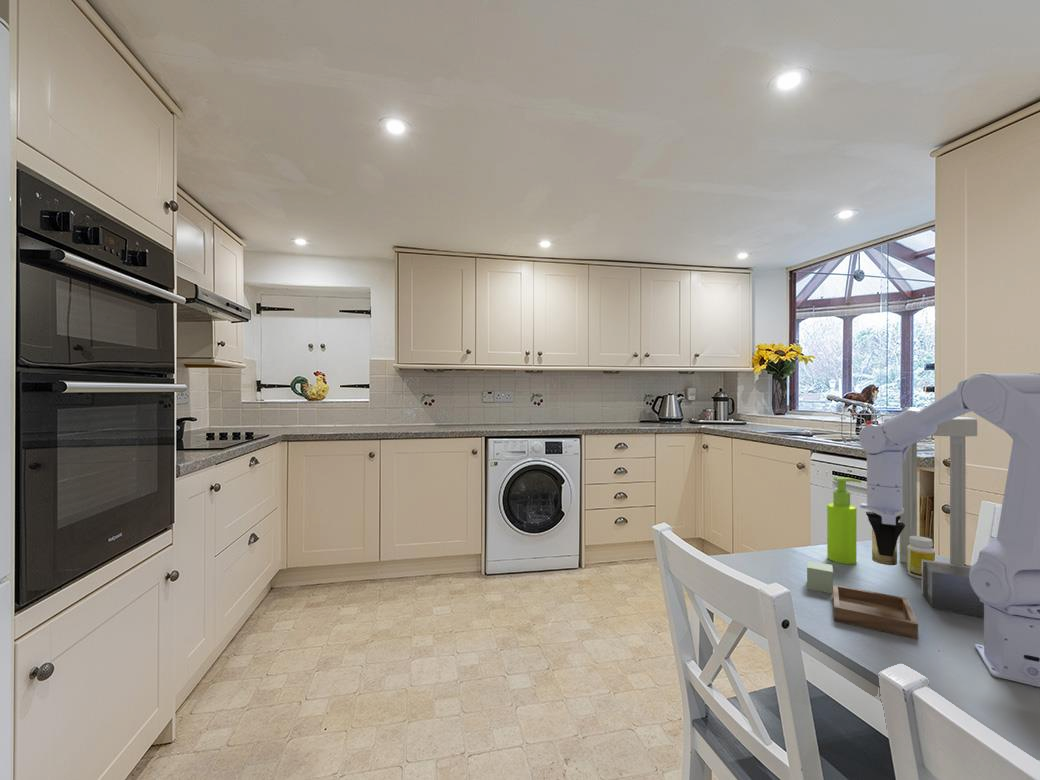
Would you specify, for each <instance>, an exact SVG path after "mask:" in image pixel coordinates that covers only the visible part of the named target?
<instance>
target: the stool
mask: <svg viewBox="0 0 1040 780" xmlns="http://www.w3.org/2000/svg"><path fill="white" fill-rule="evenodd" d="M895 416H896V415H893V416H891V418H893V417H895ZM891 418H890V419H891ZM931 436H932V437H933V436H935V437H949V499H950V500H949V558H950V559H949V564H956V565H963V566H965V564H966V559H967V558H966V553H967V552H966V549H967V548H966V545H967V543H966V541H967V540H966V533H967V531H966V528H967V527H966V520H967V519H966V518H967V517H966V515H967V514H966V512H967V511H966V509H967V507H966V505H967V504H966V495H967V493H966V483H967V482H966V479H967V478H966V472H967V471H966V468H967V467H966V465H967V464H966V463H967V462H966V458H967V457H966V438H967V437H977V436H978V419H977V418H975V417H969V416H968V417H966V416H958V417H956V418H953V419H951V420H948V421H946V422H943V423H941V424H938V425H937V430H936V432H935V433H934V434H933V435H931ZM931 436H930V437H931ZM917 447H918V442H915V443H913V444H911V446H910V448H909V450H908V451H907V453H906V460H905V461H904V462H903V508H904V513H903V514H901V515H900V516H901V518H900V520H899V522H900V523H904V524H905V527H904V529H903V530H902V531H901V533H900V535H899V562H900V563H905V564H907V546H908V545H909V544H910V543H909V537H910V536H918V533H917V532H918V521H917V520H918V514H917V513H918V506H917V505H918V500H917V499H918V495H917V494H918V491H917V490H918V475H917V473H918V463H917V462H918V459H917V457H918V453H917V452H918V448H917Z"/></svg>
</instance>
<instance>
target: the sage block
mask: <svg viewBox="0 0 1040 780" xmlns="http://www.w3.org/2000/svg"><path fill="white" fill-rule="evenodd" d="M806 565H807V567H806V580H807V581H806V589H807V590H812V591H817V592H824V593H829V594H833V585H834V568H833V564H829V563H823V562H816V561H810V560H807V564H806Z"/></svg>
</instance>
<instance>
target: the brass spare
mask: <svg viewBox="0 0 1040 780" xmlns="http://www.w3.org/2000/svg"><path fill="white" fill-rule="evenodd" d="M871 560H872V561H873V562H874V563H877V564H880V565H885V566H897V565H898V542H897V543H896V547H895V551H894V554H893V557H890V556H884V555H880V554H879V552H878V548H877V543H876V537H875V533H874V530H873V529H871Z"/></svg>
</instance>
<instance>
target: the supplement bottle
mask: <svg viewBox="0 0 1040 780" xmlns="http://www.w3.org/2000/svg"><path fill="white" fill-rule="evenodd" d="M933 542H934V541H933V539H931V538H930V537H925V536H920V535H917V536H910V537H909V543H910V544H909V545H908V546H907V563H906V569H907V570H906V573H907V574H908V575H909V576H911V577H913V578H916V579H919V580H922V560H929V561H936V551H935V549H934V548H933V546H934V544H933Z"/></svg>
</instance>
